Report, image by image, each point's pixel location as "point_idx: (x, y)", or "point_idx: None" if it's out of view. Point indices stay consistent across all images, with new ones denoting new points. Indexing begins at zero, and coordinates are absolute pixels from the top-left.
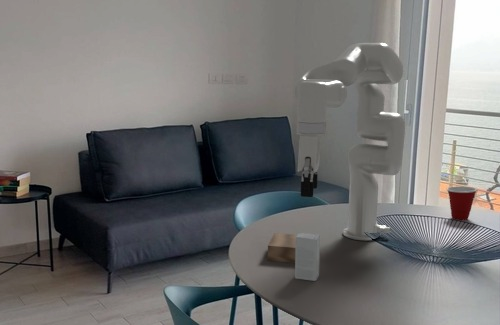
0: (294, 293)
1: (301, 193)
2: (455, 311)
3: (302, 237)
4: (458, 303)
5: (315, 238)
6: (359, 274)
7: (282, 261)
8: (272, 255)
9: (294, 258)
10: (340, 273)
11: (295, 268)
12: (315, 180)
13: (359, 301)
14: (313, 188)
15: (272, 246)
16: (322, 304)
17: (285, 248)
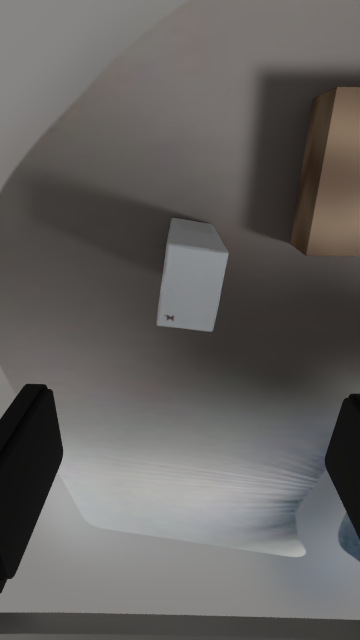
0: (74, 227)
1: (17, 401)
2: (99, 492)
3: (166, 272)
4: (131, 499)
5: (166, 320)
6: (230, 368)
7: (304, 159)
8: (316, 116)
9: (301, 203)
10: (230, 329)
11: (170, 223)
12: (357, 521)
13: (84, 367)
14: (332, 443)
15: (331, 110)
16: (40, 297)
17: (319, 169)
